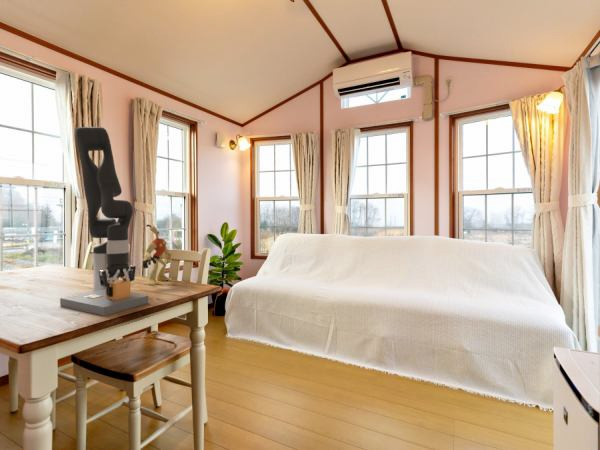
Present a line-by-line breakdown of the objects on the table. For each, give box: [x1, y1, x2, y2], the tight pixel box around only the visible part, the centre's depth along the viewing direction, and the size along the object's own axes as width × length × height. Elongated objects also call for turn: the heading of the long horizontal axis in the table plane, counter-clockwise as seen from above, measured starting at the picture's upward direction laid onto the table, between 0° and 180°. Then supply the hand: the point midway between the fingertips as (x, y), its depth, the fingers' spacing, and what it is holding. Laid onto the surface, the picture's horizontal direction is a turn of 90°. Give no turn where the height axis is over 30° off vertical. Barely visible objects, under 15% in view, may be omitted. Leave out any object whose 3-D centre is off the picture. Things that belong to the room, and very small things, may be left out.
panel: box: [59, 289, 149, 317], centre depth 125 cm, size 18×26×4 cm
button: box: [88, 295, 102, 299], centre depth 125 cm, size 3×3×3 cm
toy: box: [142, 224, 173, 286], centre depth 163 cm, size 23×9×30 cm, turn 171°
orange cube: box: [106, 279, 132, 300], centre depth 125 cm, size 6×6×6 cm
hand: (118, 294), depth 125 cm, fingers closed on orange cube, 6 cm apart
